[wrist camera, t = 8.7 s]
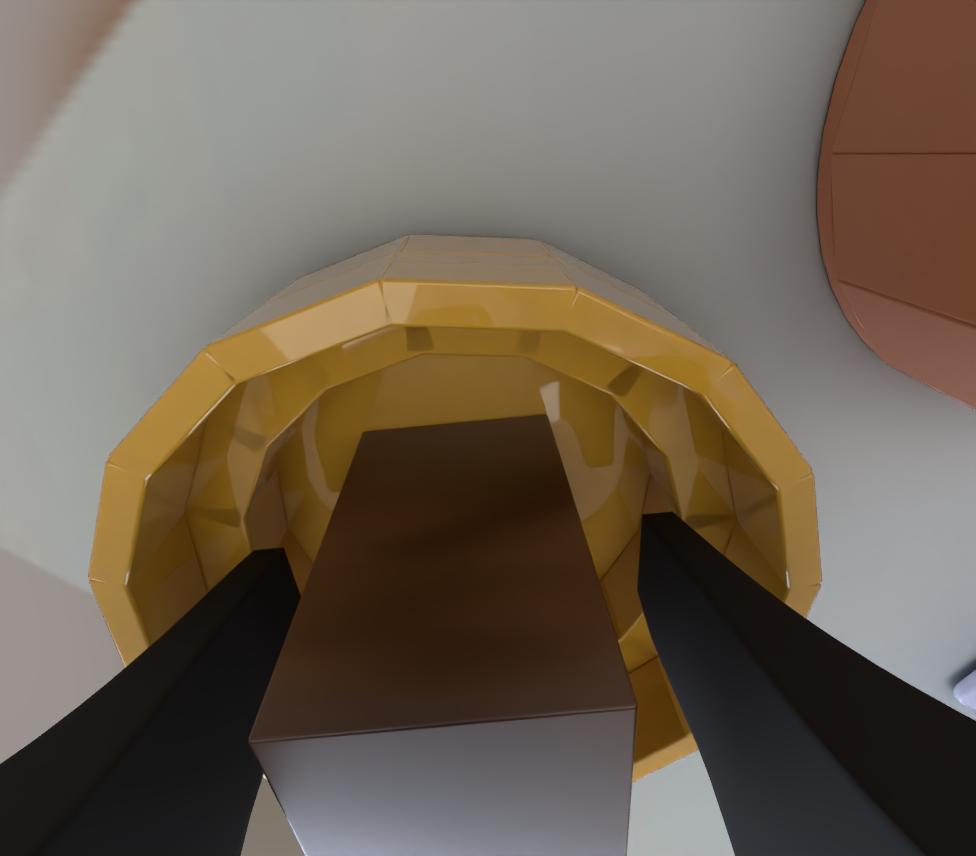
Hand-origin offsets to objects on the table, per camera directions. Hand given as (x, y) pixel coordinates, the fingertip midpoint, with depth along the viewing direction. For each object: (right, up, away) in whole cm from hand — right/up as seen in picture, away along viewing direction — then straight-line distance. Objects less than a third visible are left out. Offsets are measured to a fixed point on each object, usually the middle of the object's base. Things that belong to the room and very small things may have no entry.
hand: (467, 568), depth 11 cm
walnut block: (0, +1, +2) cm, 2 cm away
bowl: (0, +1, +2) cm, 3 cm away
